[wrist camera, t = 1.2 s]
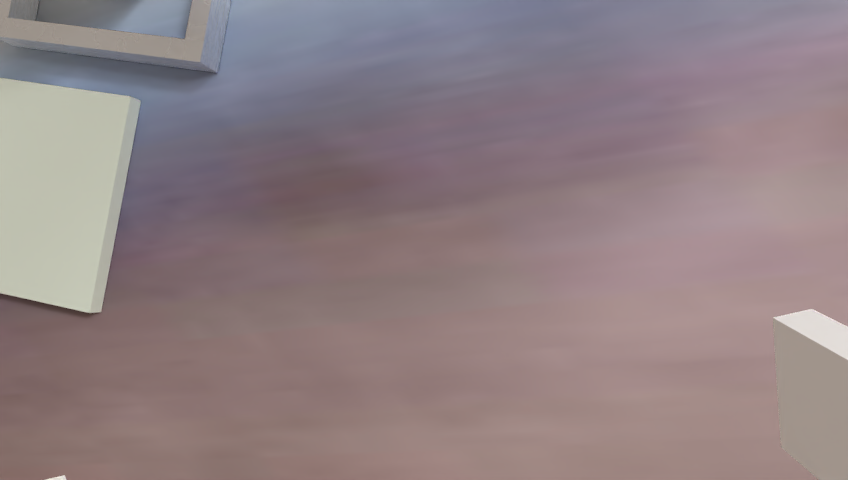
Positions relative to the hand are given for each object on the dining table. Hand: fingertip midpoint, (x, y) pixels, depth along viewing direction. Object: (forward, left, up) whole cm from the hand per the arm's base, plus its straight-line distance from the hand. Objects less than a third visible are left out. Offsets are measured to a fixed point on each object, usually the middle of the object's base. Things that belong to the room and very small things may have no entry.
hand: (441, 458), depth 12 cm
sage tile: (-3, -31, -23) cm, 39 cm away
